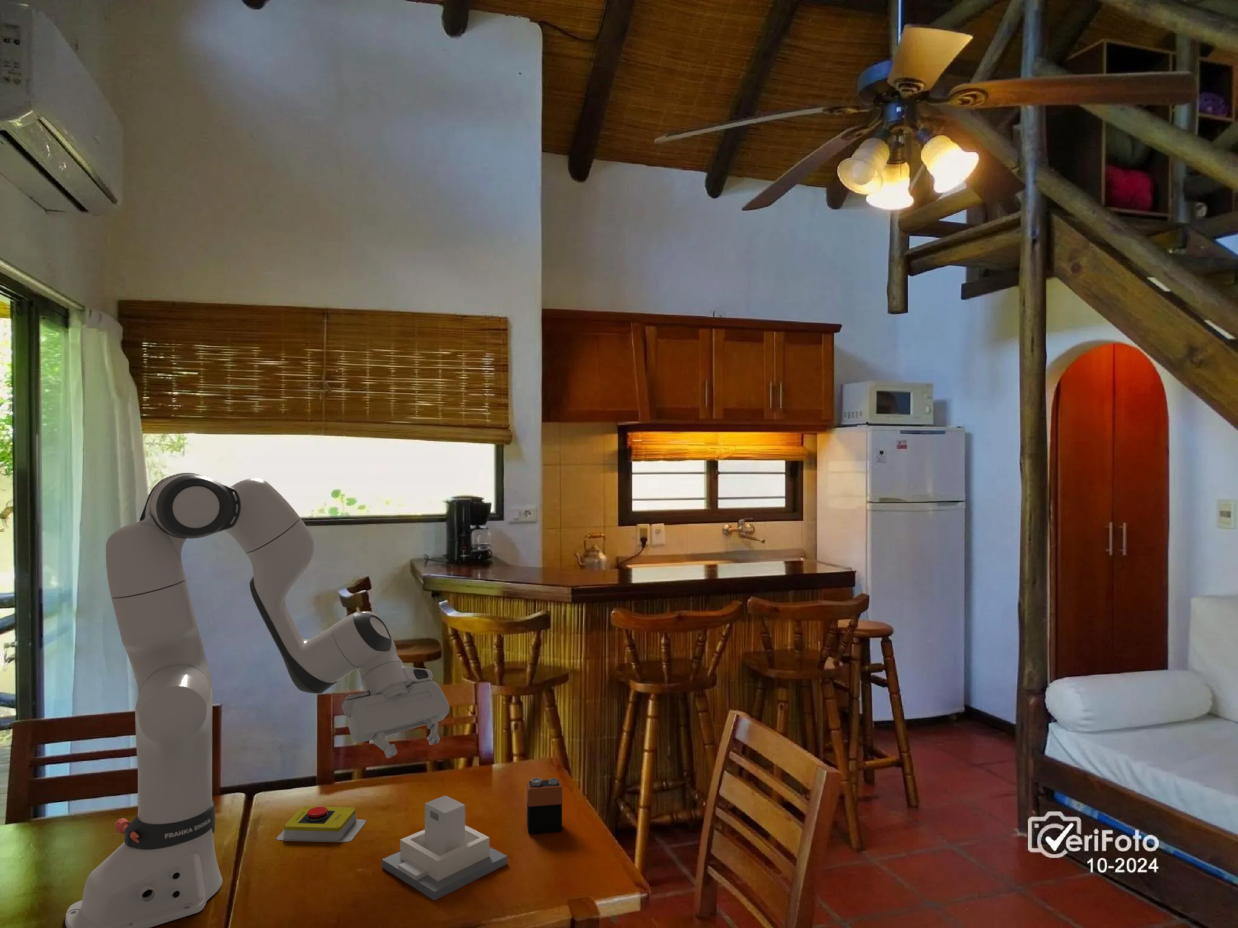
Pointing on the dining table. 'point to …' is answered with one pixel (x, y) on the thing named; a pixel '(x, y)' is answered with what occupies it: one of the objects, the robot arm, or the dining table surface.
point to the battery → (544, 806)
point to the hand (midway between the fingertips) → (414, 748)
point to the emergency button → (322, 825)
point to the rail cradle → (443, 863)
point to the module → (444, 825)
